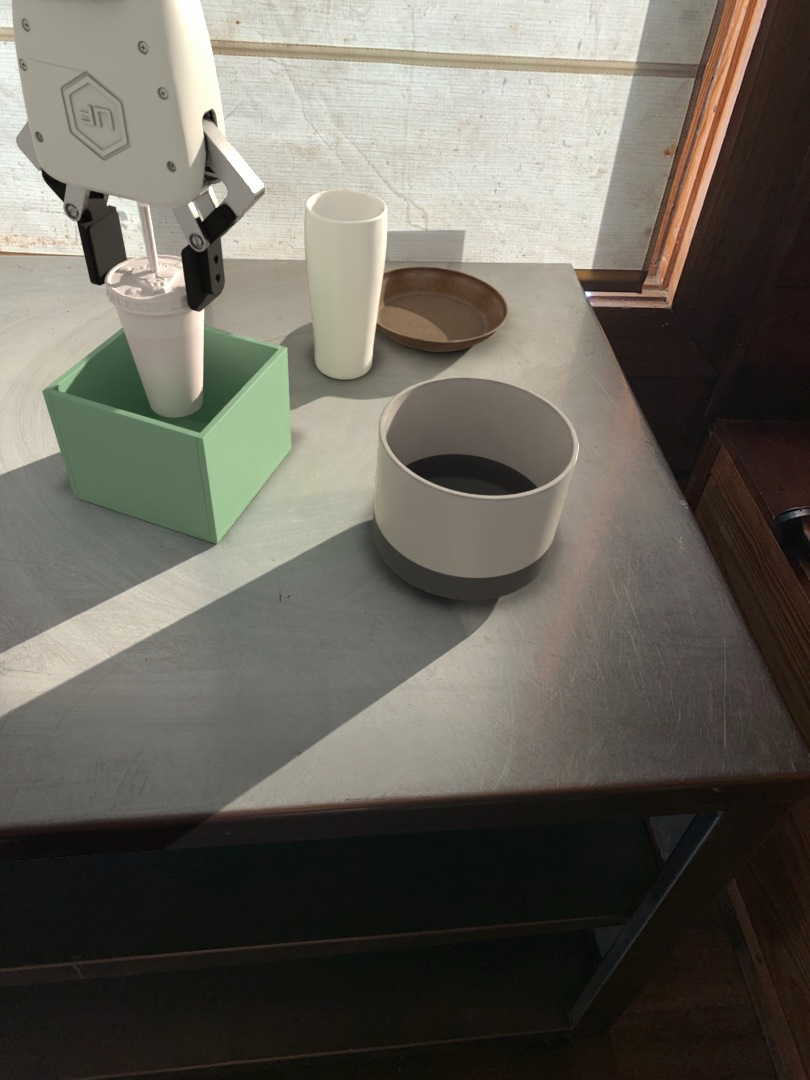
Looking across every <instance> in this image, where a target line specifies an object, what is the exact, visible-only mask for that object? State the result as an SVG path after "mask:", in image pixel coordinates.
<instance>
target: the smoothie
mask: <svg viewBox="0 0 810 1080" xmlns="http://www.w3.org/2000/svg"><path fill="white" fill-rule="evenodd" d="M138 206H139V212H140V217H141V223H142V229H143V235H144V242H145V247H146V252H147V255H141V256H137V257H136V256H135V257H131V258H129V259H127V260H126V261H123V262H121V263H119V264H117V265H116V266H114V267H113V268H112V269H111V270H110V271H109V272H108V273H107V275H106V277H105V284H104V286H105V289H106V292H105V296H106V298H107V300H108V302H109V303H111V304H112V306H114V307H115V309H116V312H117V315H118V318H119V321H120V324H121V328H122V327H123V329H124V332H125V335H126V338H127V341H128V344H129V347H130V349H131V352H132V355H133V358H134V361H135V364H136V367H137V369H138V372H139V375H140V378H141V381H142V384H143V387H144V389H145V392H146V395H147V398H148V401H149V404H150V406H151V409H152V410H153V411H154V412H155V413H157V414H159V415H161V416H164V417H172V418H175V417H183V416H187V415H190V414H192V413H194V412H196V411H197V410H198V409H199V408H200V407H201V406H202V403H203V344H204V325H205V308H204V309H203V310H202V311H200V312H198V311H194V310H191V309H190V307H189V306H188V302H187V295H186V288H185V280H184V273H183V266H182V259H181V256H178V255H171V254H158V253H157V247H156V240H155V235H154V227H153V222H152V216H151V210H150V204H146V203H142V202H140V203H139V205H138Z"/></svg>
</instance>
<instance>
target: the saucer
mask: <svg viewBox="0 0 810 1080" xmlns="http://www.w3.org/2000/svg"><path fill="white" fill-rule="evenodd" d="M508 317H509V305H508V303H507V300H506V298H505V297H504V296H503V294H502V293H501V292H500V291H499V290H498V289H497V288H495V286H493V285H491V284H490V283H488V282H487V281H485V280H483V279H481V278H479V277H476V276H475V275H472V274H469V273H466V272H464V271H460V270H456V269H450V268H445V267H439V266H428V265H427V266H426V265H425V266H423V265H419V266H415V265H414V266H403V267H398V268H393V269H389V270H386V271H384V274H383V281H382V288H381V295H380V301H379V308H378V316H377V323H376V329H378V330H379V331H380V332H382V333H383V334H384V335H385V336H387V337H388V338H390V339H391V340H393V341H395V342H396V343H398V344H400V345H403V346H405V347H408V348H411V349H414V350H418V351H423V352H429V353H430V352H431V353H451V352H457V351H463V350H465V349H469V348H471V347H474V346H476V345H478V344H480V343H482V342H484V341H485V340H487V339H489V338H490V337H491V336H492V335H494V334H495V333H496V332H497V331H498V330H499V329H500V328H501V327H502V326H503V325H504V324H505V322H506V321H507V319H508Z"/></svg>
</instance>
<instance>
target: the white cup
mask: <svg viewBox="0 0 810 1080" xmlns="http://www.w3.org/2000/svg"><path fill="white" fill-rule="evenodd" d="M303 223H304V224H303V239H304V240H303V243H304V258H305V269H306V278H307V287H308V295H309V305H310V315H311V324H312V333H313V345H314V347H313V348H314V364H315V365H316V368H317V369H318V371H319V372H320V373H321V374H323V375H325V377H326V376H327V377H328V378H331V379H334V380H339V381H343V380H344V381H347V380H354V379H358V378H361V377H363V376H365V375H366V374H367V373H369V371H370V370H371V368H372V366H373V360H374V344H375V337H376V329H377V327H376V323H377V316H378V308H379V301H380V295H381V288H382V281H383V274H384V272H385V265H386V258H387V257H386V256H387V243H388V206H387V204H386V203H385V201H384V200H383V199H381V198H380V197H378V196H377V195H374V194H371V193H369V192H367V191H366V192H365V191H363V190H356V189H347V188H336V189H327V190H322V191H319V192H315V193H314V194H312V195H311V196H309V197H308V198H307V199H306V201H305V203H304V219H303Z"/></svg>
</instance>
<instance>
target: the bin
mask: <svg viewBox="0 0 810 1080" xmlns="http://www.w3.org/2000/svg"><path fill="white" fill-rule="evenodd" d="M289 379H290V378H289V357H288V347H287V346H283V345H279V344H275V343H272V342H268V341H265V340H261V339H257V338H254V337H249V336H245V335H242V334H238V333H234V332H232V331H231V332H230V331H227V330H223V329H219V328H216V327H213V326H208V325H206V324H204V344H203V403H202V406H201V407H200V408H199V409H198V410H197V411H196V412H194V413H192V414H190V415H187V416H183V417H175V418H172V417H164V416H161V415H159V414H157V413H155V412H154V411H153V410H152V409H151V406H150V404H149V401H148V398H147V395H146V392H145V389H144V387H143V384H142V381H141V378H140V375H139V372H138V369H137V367H136V364H135V361H134V358H133V355H132V352H131V349H130V347H129V344H128V341H127V338H126V335H125V332H124V329H123V327H122V326H121V328H120V329H119V330H117V331H116V332H115V333H114V334H112V335H111V336H110V337H109V338H107V339H106V340H104V341H103V342H102V343H101V344H99V345H98V346H97V347H95V348H94V349H93V350H92V351H91V352H89V353H88V354H87V355H85V356H84V357H83V358H81V359H80V361H78V362H76V364H74V365H73V366H72V367H71V368H69V369H68V370H66V372H64V373H63V374H61V375H60V376H59V377H58V378H56V379H54V381H53V382H51V383H50V384H49V385H48V386H46V387H45V388H44V389H43V390H42V396H43V399H44V402H45V405H46V408H47V412H48V415H49V419H50V422H51V425H52V428H53V432H54V435H55V438H56V441H57V442H56V443H57V445H58V449H59V452H60V454H61V458H62V461H63V464H64V467H65V470H66V474H67V477H68V481H69V484H70V487H71V491H72V494H73V496H74V498H75V499H78V500H81V501H84V502H86V503H87V502H88V503H91V504H93V505H96V506H100V507H102V508H105V509H109V510H112V511H115V512H117V513H120V514H124V515H126V516H131V517H133V518H137V519H139V520H142V521H145V522H149V523H152V524H154V525H158V526H160V527H164V528H166V529H170V530H172V531H176V532H179V533H182V534H186V535H188V536H190V537H194V538H197V539H200V540H203V541H206V542H209V543H213V544H215V545H219V543H220V542H221V541H222V539H223V538H224V537H225V535H226V534H228V532H229V530H230V529H231V528H232V526H233V525H234V524H235V522H236V521H237V520H238V519H239V517H240V516H241V515H242V514H243V512H244V511H245V510H246V508H247V507H248V506H249V505H250V503H251V502H252V501H253V499H254V498H255V497H256V495H257V494H258V493H259V492H260V490H261V489H262V488H263V486H264V485H265V484H266V482H267V481H268V480H269V478H270V477H271V476H272V475H273V473H274V472H275V471H276V469H277V468H278V467H279V466H280V464H281V463H282V462H283V460H284V459H285V458H286V457H287V455H289V453H290V452H291V450H292V428H291V427H292V426H291V406H290V405H291V404H290V403H291V402H290V382H289V381H290V380H289Z"/></svg>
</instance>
